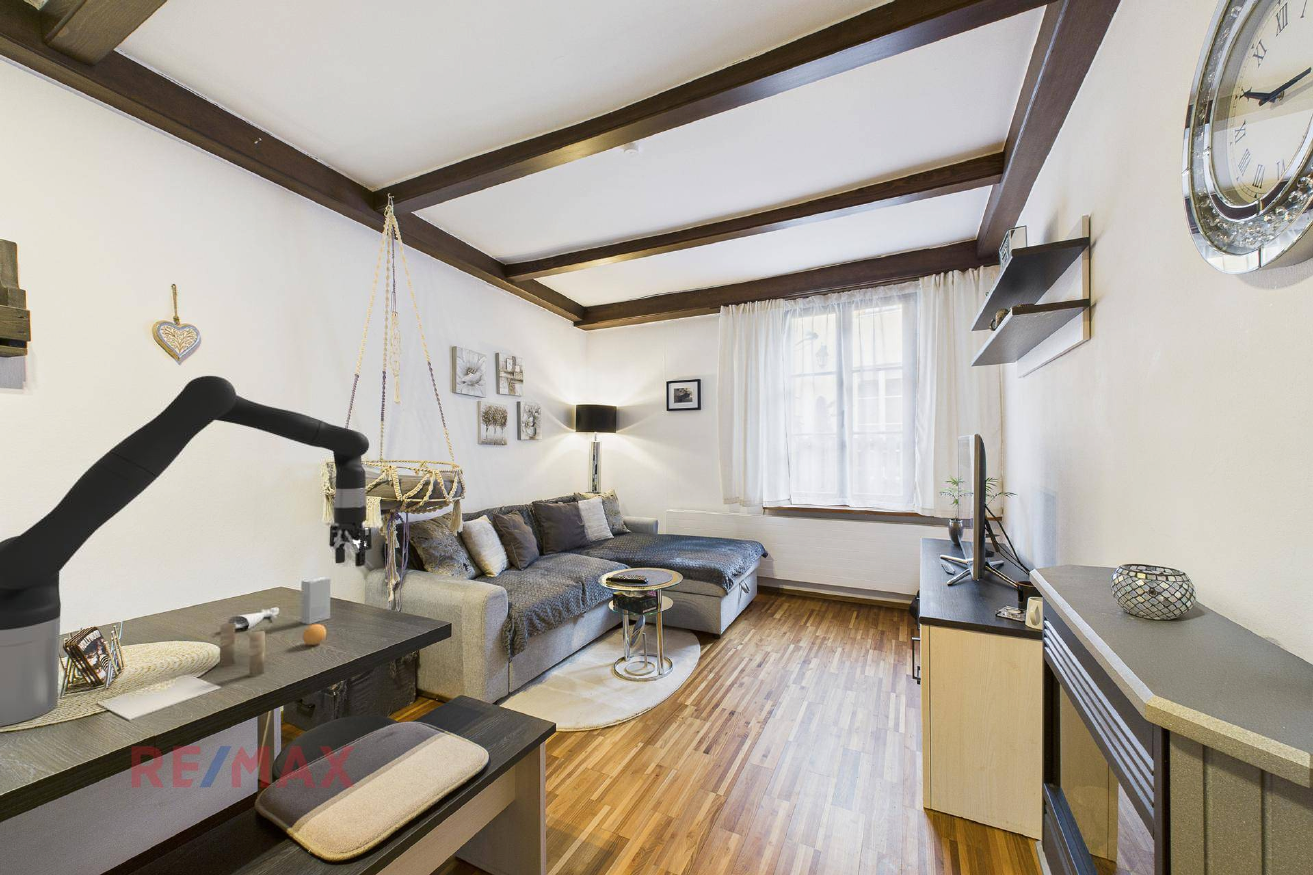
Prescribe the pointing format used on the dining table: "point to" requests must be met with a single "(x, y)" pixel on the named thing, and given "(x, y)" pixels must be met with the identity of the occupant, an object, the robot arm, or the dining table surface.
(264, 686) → the dining table surface
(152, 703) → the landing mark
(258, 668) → the right post
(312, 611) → the skincare box
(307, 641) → the brown egg
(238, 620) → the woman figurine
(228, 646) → the left post
